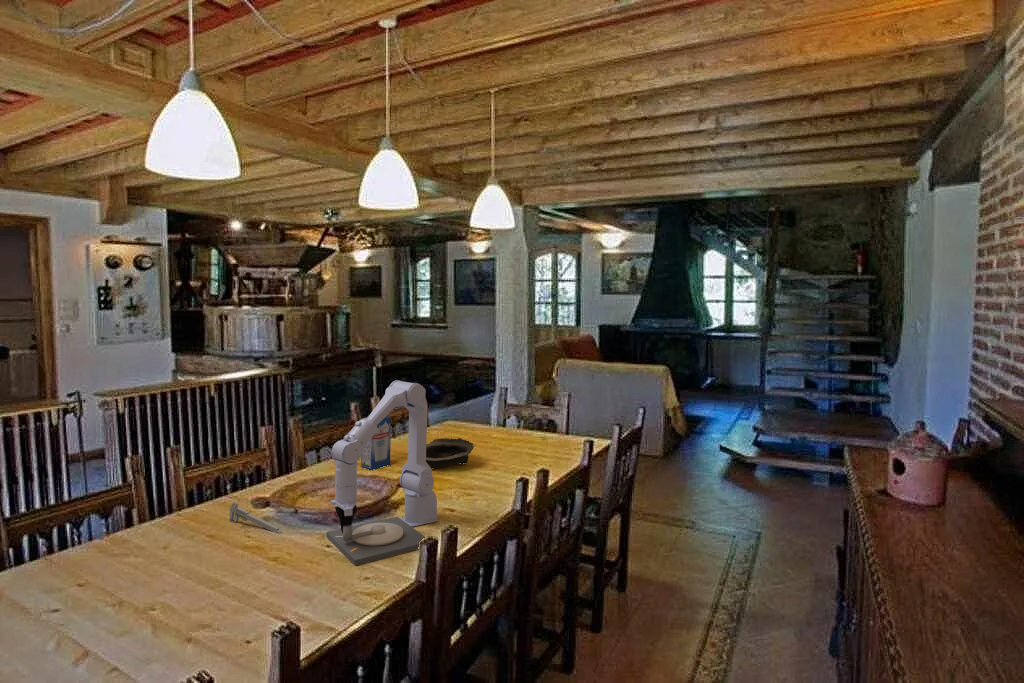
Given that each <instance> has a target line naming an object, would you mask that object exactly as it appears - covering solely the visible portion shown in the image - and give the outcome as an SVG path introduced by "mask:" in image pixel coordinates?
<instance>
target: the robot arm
mask: <svg viewBox="0 0 1024 683" xmlns="http://www.w3.org/2000/svg"><path fill="white" fill-rule="evenodd" d="M426 392H427V391H426V388H425V387H424V386H422V385H421V384H420V383H417V382H408V381H401V380H398V379H396V380H394V381H392V382H391V383H390V384H389V386H388V387H387V388H386V389H385V393H384V395H383V397H382V398H381V399H380V400H379V401H378V403H377V404H376V406H375V407H374V408H373V410H372V411H371V413H370V414H369V415H368V416H367V417H368V418H367V417H366V418H367V419H362V418H360V419H359V420H357V421H355V423H354V426H353V427H352V428H351V430H350V431H348V433H347V434H346V435H344V436H343V439H340V440H337V441H336V442H335V443H334V445H333V446H332V449H331V450H330V456H331V458H332V460H334V467H335V468H334V469H335V470H334V480H335V481H334V486H335V487H334V497H335V498H334V499H331V500H330V504H331V505H334V506H335V507H334V509H335V510H334V511H335V514H337V517H338V519H339V524H340V529H341V531H342V533H343V526H344V525H352V526H353V521H354V517H355V515H356V513H357V510H358V508H357V504H358V497H357V496H358V492H357V491H358V484H357V483H358V467H357V466H358V461H359V460H361V455H362V450H363V448H364V446H365V445H366V444H367V443H368V441H369V440H370V439H371V438H372V437H373V436H374V434H375V433H376V426H377V425H378V424H379V423H380V422H381V421H382V420H383V419H384V418H385V417H386V416H388V415H389V414H391V412H392V411H393V410H394V409H395V408H399V407H400V408H402V407H404V408H405V409H406V410H407V411H408V437H407V438H408V440H407V441H408V442H407V448H408V449H407V461H406V463H404V464H403V465H402V470H401V474H400V476H399V486H400V487H401V488H402V489H403V493H404V516H402V517H399V518H400V519H401V520H403V521H404V522H406V523H407V524H408V525H410V526H411V527H413V528H415V527H417V526H423V525H427V524H432V523H434V522H435V523H436V522H438V521H439V520H438V517H437V515H438V514H437V512H438V499H437V495H436V493H435V491H434V490H433V489H434V485H435V484H434V483H435V482H434V481H435V480H434V476H433V469H431V468H430V466H429V465H428V464H427V463H426V444H427V438H428V436H427V432H428V430H427V429H428V402H427V399H426V394H427V393H426Z"/></svg>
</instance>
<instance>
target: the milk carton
mask: <svg viewBox="0 0 1024 683" xmlns="http://www.w3.org/2000/svg"><path fill="white" fill-rule="evenodd" d="M367 418H368V416H367V417H363V418H362V417H361V419H367ZM391 424H392V422H391V416H388V415H387V416H386V417H385V418H384V419H383V420H382V421H381V422H380V423H379V424H378V425H377V426H376V433H375V434H374V436H373V437H372V438H371V439H370V440H369V441H368V443H367V444H366V445H365V446H364V448H363V450H362V455H361V457H360V460H361V462H360V465H361V467H362V468H361V467H360V468H361V469H364V468H366V469H365V470H368V469H370V470H369V471H371V470H372V471H374V470H373V469H376V470H378V469H377V468H379V469H381V468H380V467H383V466H386V467H388V466H387V465H390V466H391V442H392V440H391V434H392V433H391V431H392V430H391V427H392V426H391ZM383 468H384V467H383Z"/></svg>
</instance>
